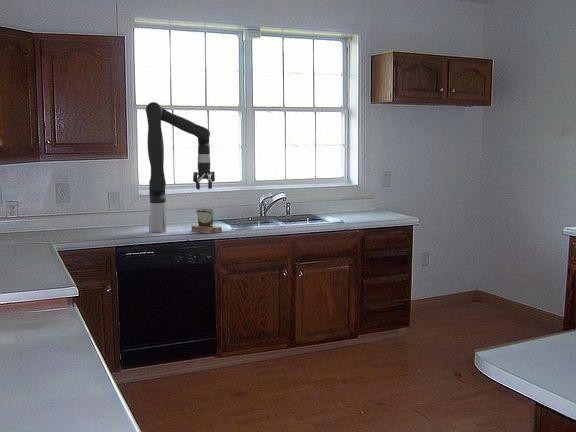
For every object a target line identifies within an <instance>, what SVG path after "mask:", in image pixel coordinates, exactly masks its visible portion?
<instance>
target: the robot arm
mask: <svg viewBox="0 0 576 432" xmlns="http://www.w3.org/2000/svg"><path fill="white" fill-rule="evenodd" d="M145 114H146V119H147V156H148V161H149V164H150V179H149V181H148V187H149V189H148V191H149V192H148V193H149V215H148V232H150V233H166V232H167V197H166V185H167V182H166V175H165V170H164V165H165V163H164V162H165V147H164V146H165V144H164V136H163V131H162V122H165V123H167V124H169V125H171V126H173V127H174V128H177V129H178V130H181V131H183V132H184V133H187V134H189V135H193V136H195V137H196V138H197V143H198V145H197V171H193V173H192V175H193V176H192V182H193V183H195V188H196V190H198V191H199V190H200V189H201V188H200V187H201V184H200V183H201V181H202V180H207V181H208V183H207V186H208V187H207V189H208V190H211V189H212V187H213V182H216V181H215V180H216V177H215V176H216V175H215V171H211V148H210V147H211V146H210V137H211V132H210V130H209V129H208V128H207V127H204V126H202V125H199V124H197V123H195V122H193V121H191V120H189V119H187V118H184V117H182V116H179V115H178V114H175V113H173V112H170V111H168V110H166V109H165V108H164V107H162V106H161V104H159V103H158V102H155V101H151V102H149V103H148V104H147V105H146V107H145Z"/></svg>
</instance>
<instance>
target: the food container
mask: <svg viewBox="0 0 576 432" xmlns="http://www.w3.org/2000/svg"><path fill="white" fill-rule="evenodd" d="M196 214H197V215H196V216H197V225H198V226H202V227H213V226H214V214H215V209H211V208H198V209H196Z"/></svg>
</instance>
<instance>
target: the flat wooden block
mask: <svg viewBox="0 0 576 432" xmlns="http://www.w3.org/2000/svg"><path fill="white" fill-rule="evenodd" d="M192 230H194V231H193V232H196V231H199V232H198V233H201V232H202V233H201V234H207V235H209V234H210V235H211V234H217V233H218V234H219V233H222V232H223V231H222V226H218V225H213V227H202V226H198V224H197V225H195V224H194V225H191V231H192Z"/></svg>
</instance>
